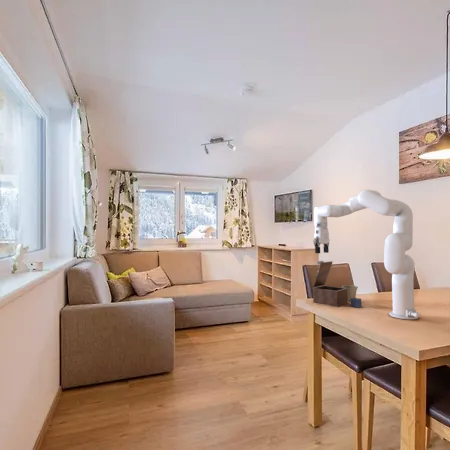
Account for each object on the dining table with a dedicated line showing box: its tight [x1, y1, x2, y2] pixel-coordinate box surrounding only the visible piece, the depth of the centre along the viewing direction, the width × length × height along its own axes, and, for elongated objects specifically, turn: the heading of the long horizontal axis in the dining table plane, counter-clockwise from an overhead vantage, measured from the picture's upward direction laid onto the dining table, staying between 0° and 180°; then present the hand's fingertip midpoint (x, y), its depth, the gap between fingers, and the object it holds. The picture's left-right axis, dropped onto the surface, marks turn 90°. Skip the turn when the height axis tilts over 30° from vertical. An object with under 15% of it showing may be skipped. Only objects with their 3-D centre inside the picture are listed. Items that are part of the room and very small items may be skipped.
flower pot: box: [341, 284, 359, 302], centre depth 192 cm, size 9×9×9 cm
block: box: [349, 297, 363, 309], centre depth 175 cm, size 4×4×4 cm
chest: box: [312, 284, 349, 307], centre depth 185 cm, size 16×13×9 cm
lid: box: [312, 260, 334, 288], centre depth 191 cm, size 17×13×5 cm
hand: (322, 252), depth 190 cm, fingers open, 9 cm apart
